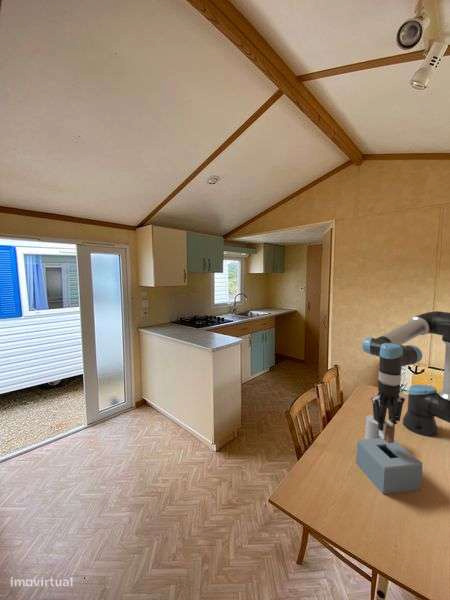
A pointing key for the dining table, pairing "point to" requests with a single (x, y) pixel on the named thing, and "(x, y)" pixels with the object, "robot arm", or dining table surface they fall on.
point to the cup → (371, 428)
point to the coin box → (389, 465)
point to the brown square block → (389, 433)
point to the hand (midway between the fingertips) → (385, 436)
